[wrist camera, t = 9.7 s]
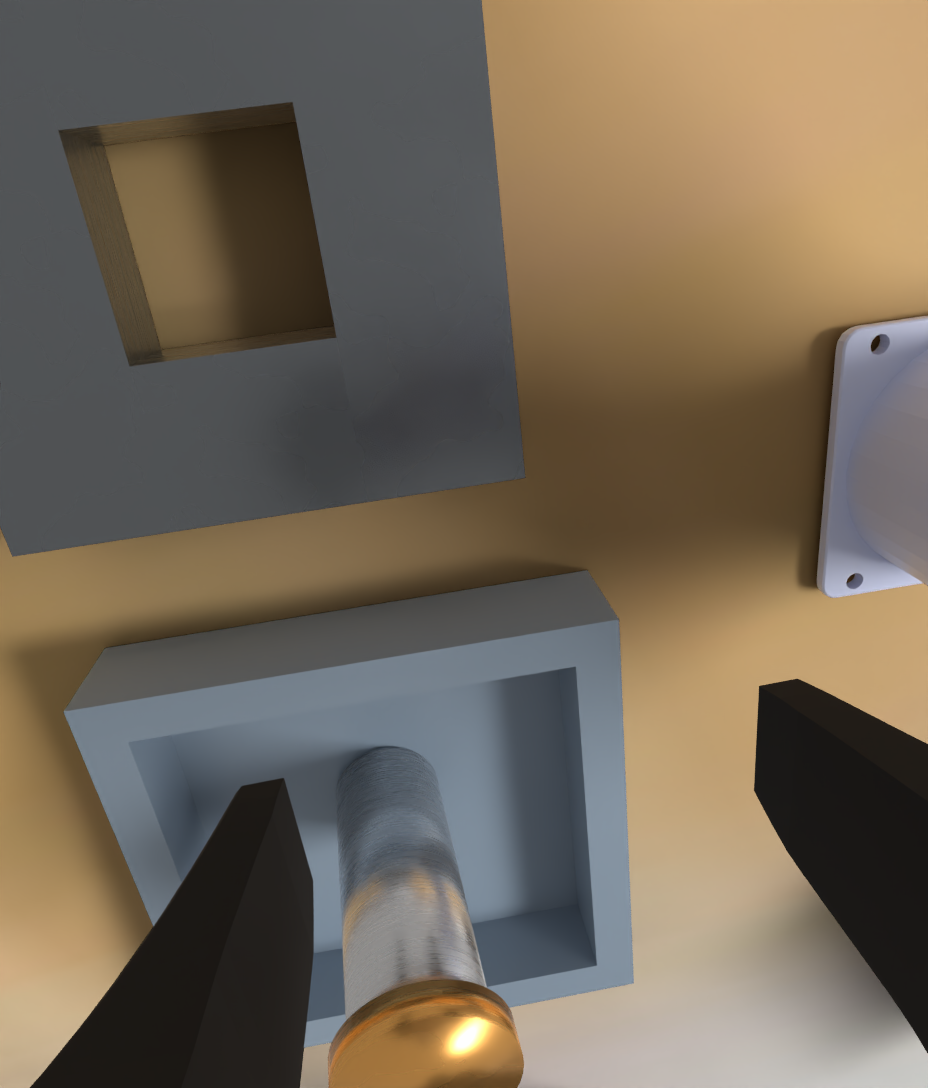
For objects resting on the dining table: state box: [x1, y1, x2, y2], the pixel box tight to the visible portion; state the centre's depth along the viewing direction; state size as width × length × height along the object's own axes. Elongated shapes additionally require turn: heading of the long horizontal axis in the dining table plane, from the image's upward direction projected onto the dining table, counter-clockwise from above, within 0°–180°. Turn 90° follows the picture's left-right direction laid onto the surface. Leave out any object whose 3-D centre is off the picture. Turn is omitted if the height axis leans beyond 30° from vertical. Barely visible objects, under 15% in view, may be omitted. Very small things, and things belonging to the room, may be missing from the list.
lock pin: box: [328, 748, 524, 1088], centre depth 19 cm, size 4×4×9 cm
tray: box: [64, 570, 634, 1048], centre depth 22 cm, size 14×14×3 cm
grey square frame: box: [0, 0, 525, 557], centre depth 16 cm, size 12×12×2 cm
